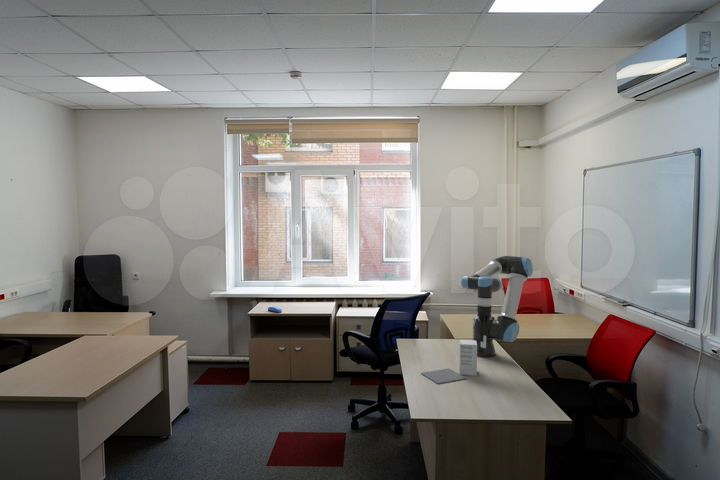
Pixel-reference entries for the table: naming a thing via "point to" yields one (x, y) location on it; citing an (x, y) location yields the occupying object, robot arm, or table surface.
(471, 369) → the supplement box
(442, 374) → the graphite mat
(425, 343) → the table surface
